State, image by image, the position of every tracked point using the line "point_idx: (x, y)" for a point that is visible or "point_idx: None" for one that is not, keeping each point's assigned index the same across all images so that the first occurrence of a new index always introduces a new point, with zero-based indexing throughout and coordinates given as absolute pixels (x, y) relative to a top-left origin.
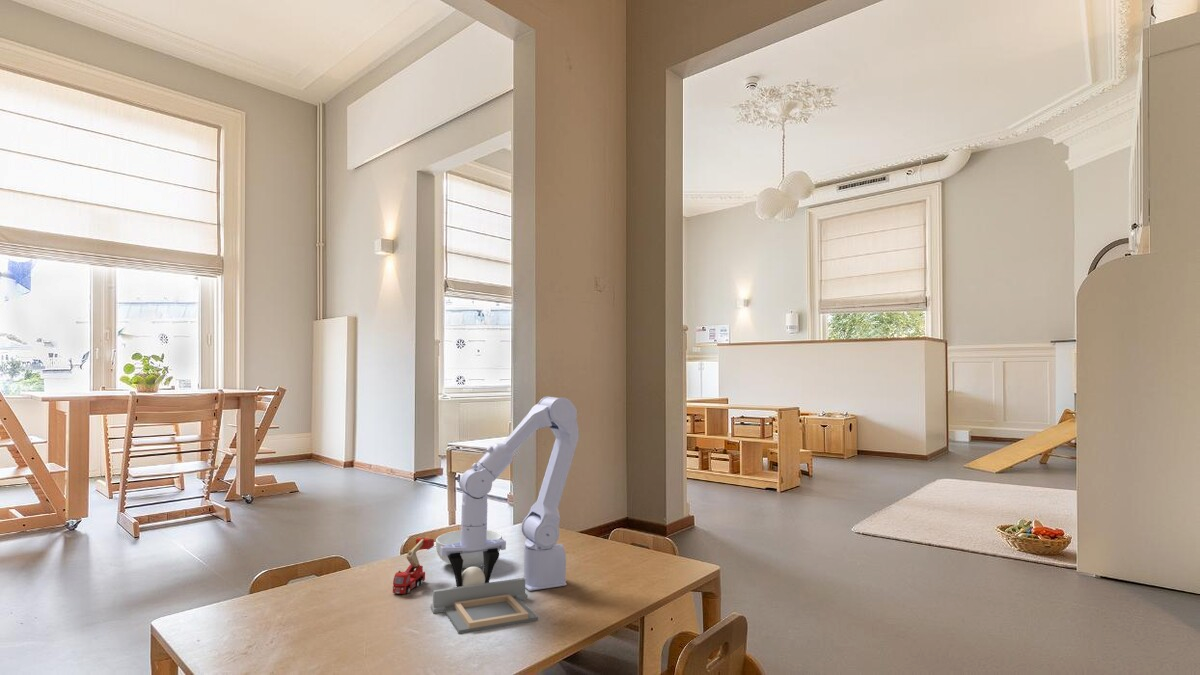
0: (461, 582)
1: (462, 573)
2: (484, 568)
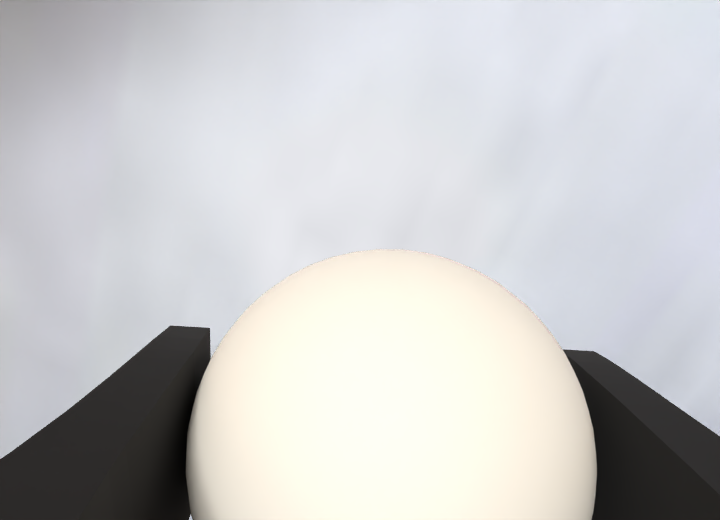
0: (185, 511)
1: (205, 508)
2: (674, 507)
